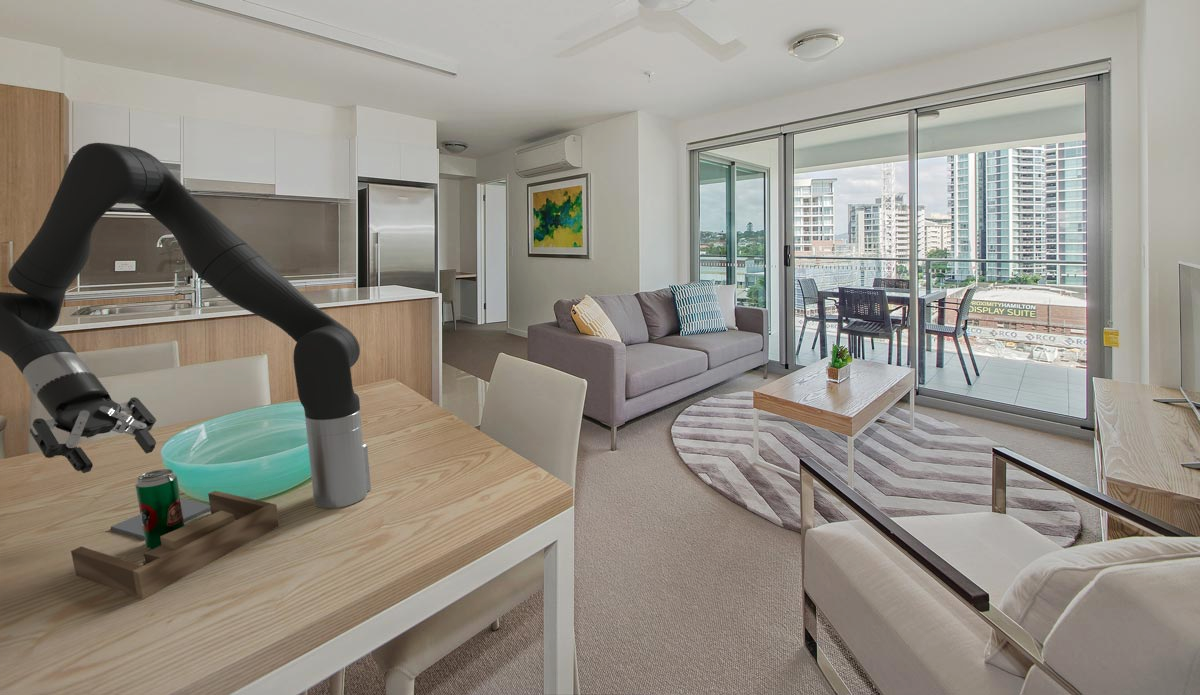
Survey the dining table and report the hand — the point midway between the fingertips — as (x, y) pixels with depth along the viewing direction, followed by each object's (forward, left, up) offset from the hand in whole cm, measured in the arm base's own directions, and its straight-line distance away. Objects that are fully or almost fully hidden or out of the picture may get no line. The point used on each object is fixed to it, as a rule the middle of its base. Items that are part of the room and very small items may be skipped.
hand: (121, 459), depth 84 cm
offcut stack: (0, +15, -13) cm, 20 cm away
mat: (-5, -1, -13) cm, 14 cm away
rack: (0, +12, -13) cm, 18 cm away
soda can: (0, +8, -13) cm, 16 cm away
